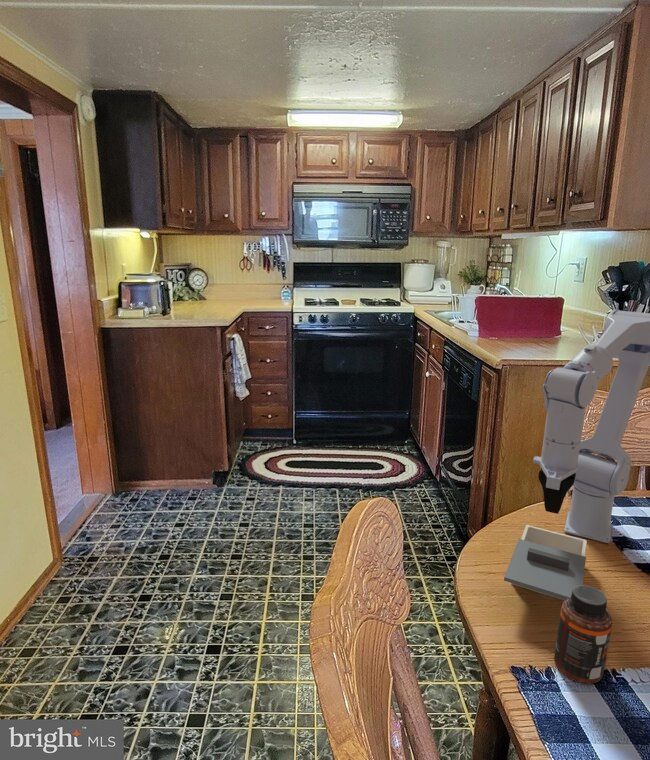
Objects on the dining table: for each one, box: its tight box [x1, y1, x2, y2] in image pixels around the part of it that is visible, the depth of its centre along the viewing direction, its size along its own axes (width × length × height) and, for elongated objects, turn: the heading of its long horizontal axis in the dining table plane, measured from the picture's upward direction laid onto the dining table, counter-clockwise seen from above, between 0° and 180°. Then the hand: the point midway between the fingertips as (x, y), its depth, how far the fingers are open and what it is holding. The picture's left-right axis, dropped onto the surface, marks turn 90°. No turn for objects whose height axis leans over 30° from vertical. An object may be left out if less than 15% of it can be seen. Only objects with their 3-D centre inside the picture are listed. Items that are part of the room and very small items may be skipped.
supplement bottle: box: [553, 584, 613, 685], centre depth 66 cm, size 6×6×11 cm
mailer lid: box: [503, 538, 587, 601], centre depth 79 cm, size 12×10×2 cm
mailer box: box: [510, 524, 588, 601], centre depth 87 cm, size 12×10×5 cm
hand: (552, 510), depth 90 cm, fingers closed
